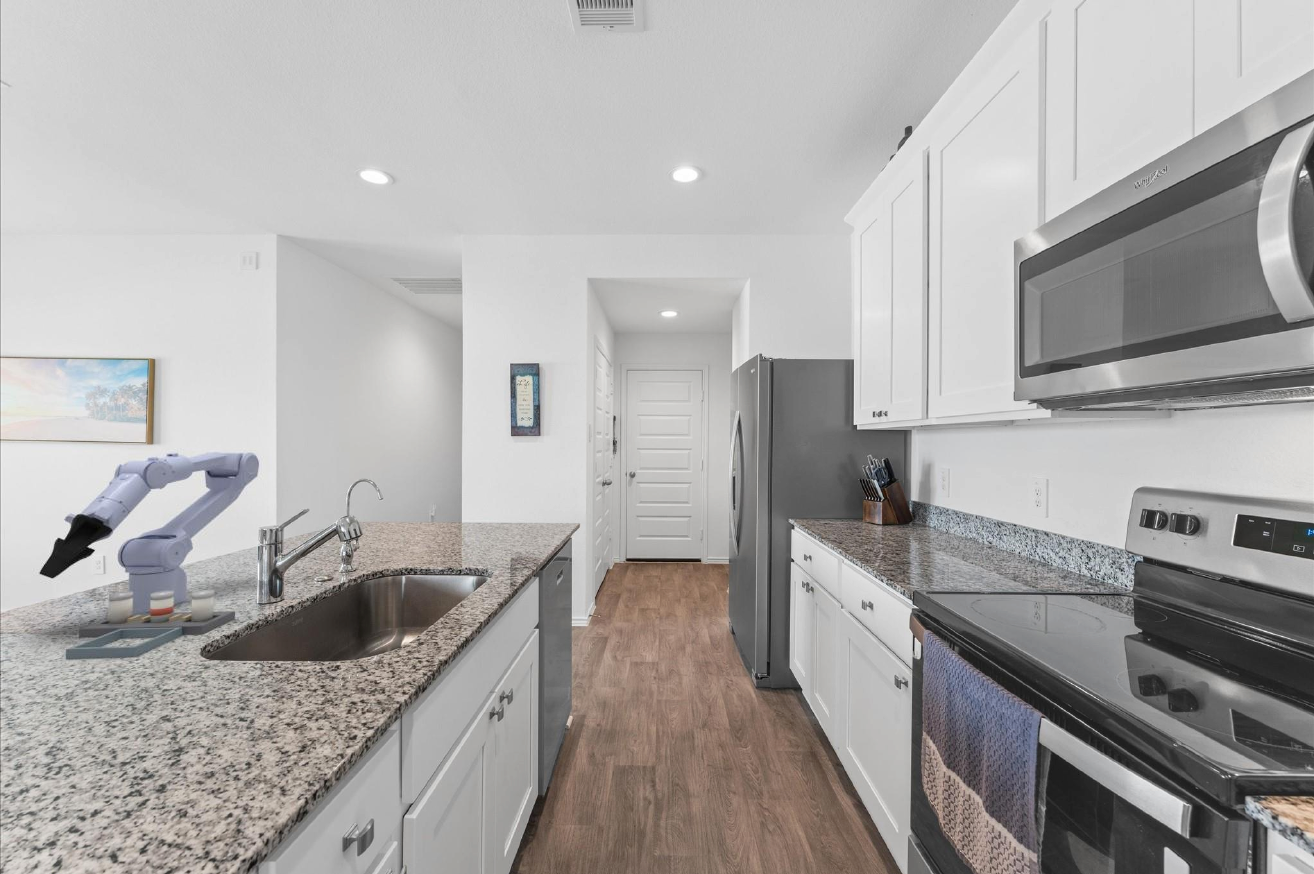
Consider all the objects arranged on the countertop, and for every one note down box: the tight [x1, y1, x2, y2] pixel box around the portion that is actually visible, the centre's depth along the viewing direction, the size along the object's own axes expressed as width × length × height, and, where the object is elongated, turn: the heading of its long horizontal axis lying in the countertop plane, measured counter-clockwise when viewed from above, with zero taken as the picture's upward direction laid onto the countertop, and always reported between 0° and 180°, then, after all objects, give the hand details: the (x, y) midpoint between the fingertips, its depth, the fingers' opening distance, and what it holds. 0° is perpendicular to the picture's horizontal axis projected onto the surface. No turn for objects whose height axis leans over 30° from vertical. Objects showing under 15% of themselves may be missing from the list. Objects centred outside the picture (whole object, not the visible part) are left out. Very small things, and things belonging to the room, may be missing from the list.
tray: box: [65, 627, 183, 660], centre depth 92 cm, size 10×10×2 cm
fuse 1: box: [107, 590, 133, 624], centre depth 101 cm, size 3×3×6 cm
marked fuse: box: [149, 590, 175, 623], centre depth 102 cm, size 3×3×6 cm
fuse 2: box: [190, 589, 215, 622], centre depth 102 cm, size 3×3×6 cm
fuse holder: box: [78, 610, 236, 639], centre depth 102 cm, size 9×20×3 cm, turn 96°
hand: (53, 566), depth 95 cm, fingers open, 7 cm apart
